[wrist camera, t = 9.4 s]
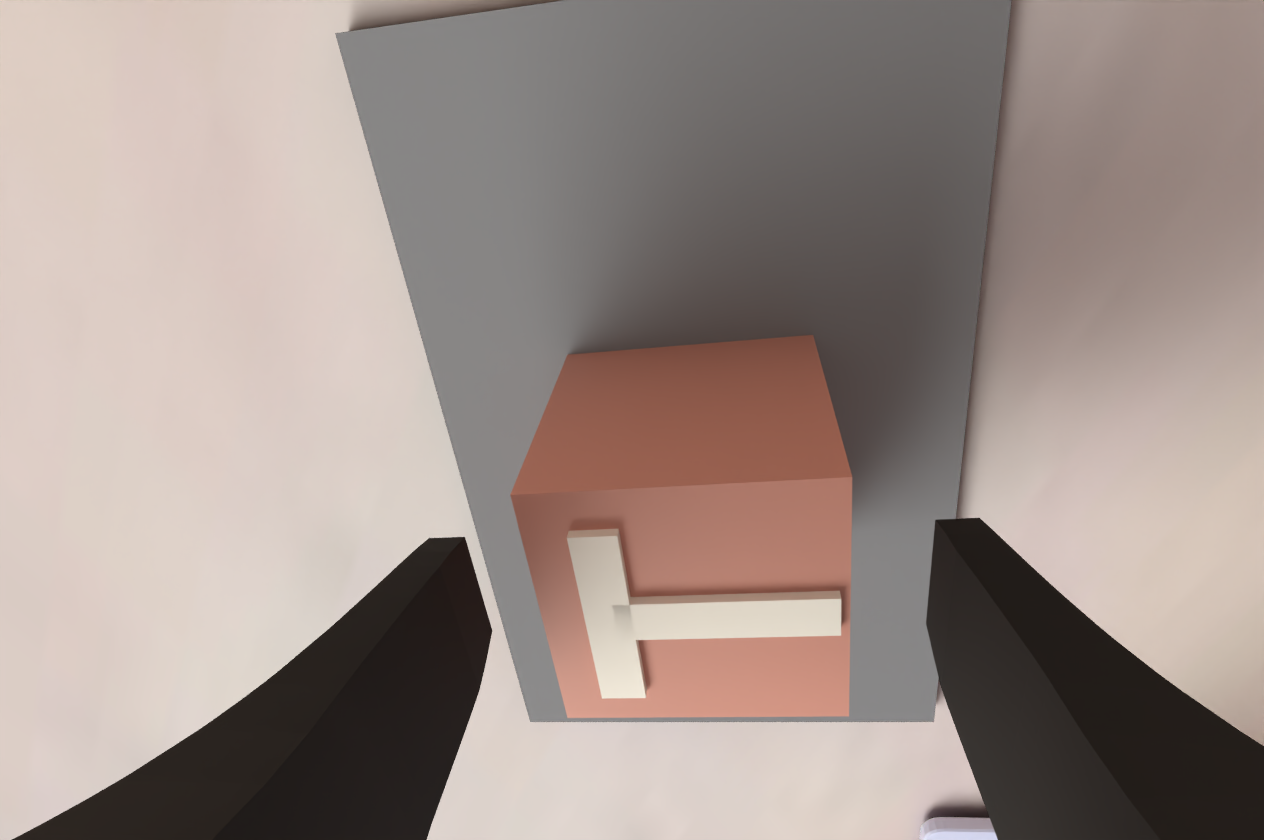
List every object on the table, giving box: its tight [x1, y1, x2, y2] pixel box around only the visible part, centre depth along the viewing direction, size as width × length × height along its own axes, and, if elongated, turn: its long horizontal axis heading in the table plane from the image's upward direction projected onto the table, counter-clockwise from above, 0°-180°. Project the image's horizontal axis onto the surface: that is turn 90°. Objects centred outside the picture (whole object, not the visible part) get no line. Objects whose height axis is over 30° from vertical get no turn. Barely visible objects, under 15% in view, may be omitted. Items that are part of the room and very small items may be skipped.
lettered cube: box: [510, 335, 852, 718], centre depth 13 cm, size 4×4×5 cm
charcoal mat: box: [335, 0, 1012, 722], centre depth 15 cm, size 16×10×1 cm, turn 7°
